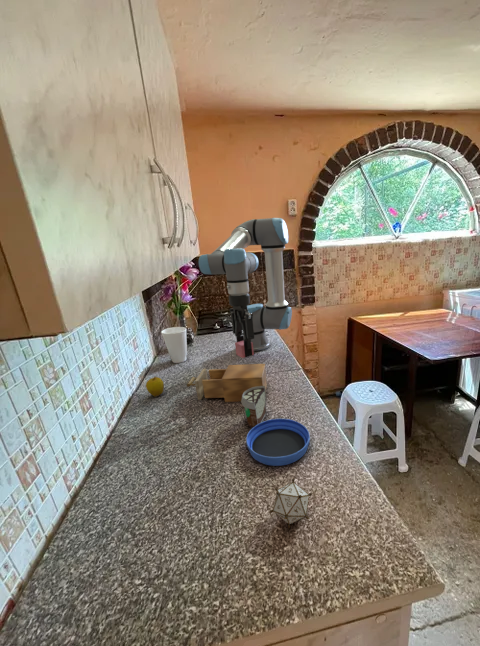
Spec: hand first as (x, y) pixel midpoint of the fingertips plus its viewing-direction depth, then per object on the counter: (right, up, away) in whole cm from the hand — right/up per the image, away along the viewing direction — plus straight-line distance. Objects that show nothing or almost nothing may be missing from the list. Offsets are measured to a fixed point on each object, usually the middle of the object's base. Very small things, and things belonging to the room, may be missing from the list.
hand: (245, 354), depth 119 cm
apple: (-35, -16, +4) cm, 39 cm away
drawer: (-12, -15, +1) cm, 20 cm away
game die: (+17, -35, -53) cm, 66 cm away
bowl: (+14, -27, -30) cm, 42 cm away
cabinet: (+1, -15, +1) cm, 15 cm away
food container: (+5, -22, -17) cm, 28 cm away
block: (0, 0, 0) cm, 0 cm away
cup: (-39, -4, +38) cm, 55 cm away
